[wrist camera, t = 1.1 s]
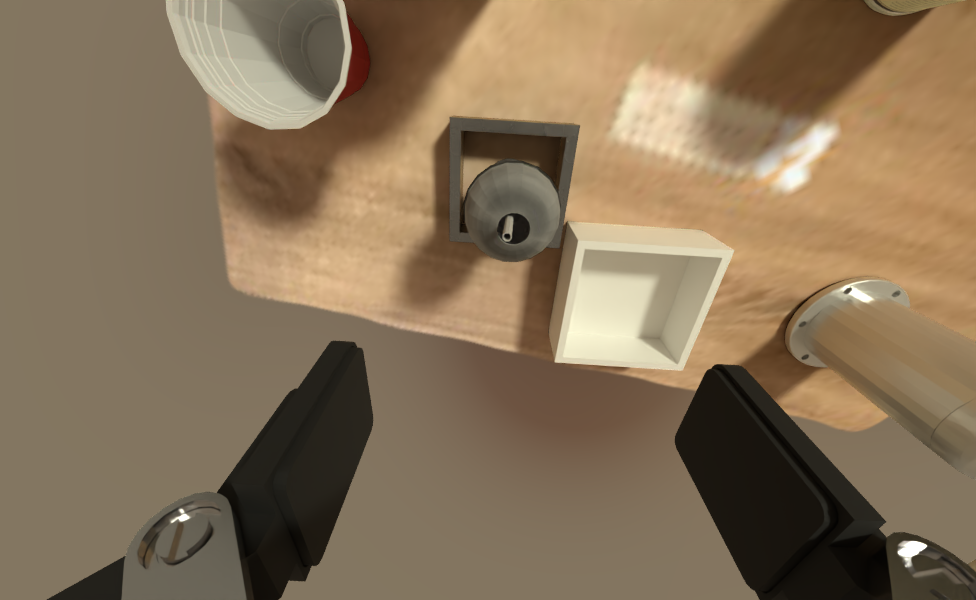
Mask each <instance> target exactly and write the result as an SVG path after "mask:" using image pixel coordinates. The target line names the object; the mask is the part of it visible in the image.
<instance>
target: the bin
mask: <svg viewBox="0 0 976 600" xmlns="http://www.w3.org/2000/svg"><path fill="white" fill-rule="evenodd" d="M733 253H734V250H733V249H731V248H730V247H728V246H727V245H725V244H723V243H722V242H720V241H719V240H717V239H715V238H714V237H712V236H711V235H709V234H708V233H706V232H704V231H703V230H694V229H679V228H663V227H648V226H632V225H616V224H601V223H585V222H570V221H567V227H566V233H565V239H564V244H563V250H562V256H561V262H560V268H559V273H558V279H557V285H556V291H555V297H554V302H553V308H552V314H551V320H550V326H549V331H548V333H549V338H550V343H551V347H552V352H553V357H554V362H555V363H571V364H587V365H602V366H618V367H634V368H649V369H665V370H681V371H683V368H684V366H685V364H686V361H687V359H688V357H689V354H690V352H691V350H692V347H693V345H694V343H695V340H696V338H697V336H698V334H699V331H700V329H701V327H702V324H703V322H704V320H705V317H706V315H707V313H708V310H709V308H710V306H711V303H712V301H713V299H714V297H715V294H716V292H717V290H718V287H719V285H720V283H721V280H722V278H723V276H724V273H725V271H726V269H727V266H728V264H729V262H730V260H731V257H732V255H733Z"/></svg>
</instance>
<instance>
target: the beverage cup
mask: <svg viewBox="0 0 976 600" xmlns="http://www.w3.org/2000/svg"><path fill="white" fill-rule="evenodd" d="M463 210H464V221H465V224H466V227H467V230H468V233H469V235H470V237H471V239H472V240H473V241H474V243H475V244H476V245H477V247H478V248H479V249H480V250H481V251H483V252H484V253H486V254H487V255H488V256H490V257H492V258H495V259H498V260H501V261H504V262H519V261H523V260H526V259H530V258H532V257H533V256H535V255H537V254H538V253H540V252H542V251H543V250H544V248H545V247H546V246H547V245H548V244H549V243H550V242H551V241H552V239H553V237H554V235H555V233H556V230H557V228H558V225H559V220H560V212H561V202H560V197H559V192H558V190H557V188H556V186H555V185H554V183H553V181H552V179H551V178H550V177H549V176H548V175H547V174H546V173H545V172H543V171H542V170H541V169H540V168H539V167H537V166H534V165H532V164H529V163H527V162H524V161H518V160H516V159H504V160H501V161H498V162H497V163H495V164H494V165H491V166H489V167H488V168H487V169H485V170H484V171H483V172H481V173H480V174H478V175H477V177H476V178H475V179H474V181H473V182H472V184H471V185H470V186H469V188H468V190H467V193H466V197H465V200H464V203H463Z"/></svg>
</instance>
